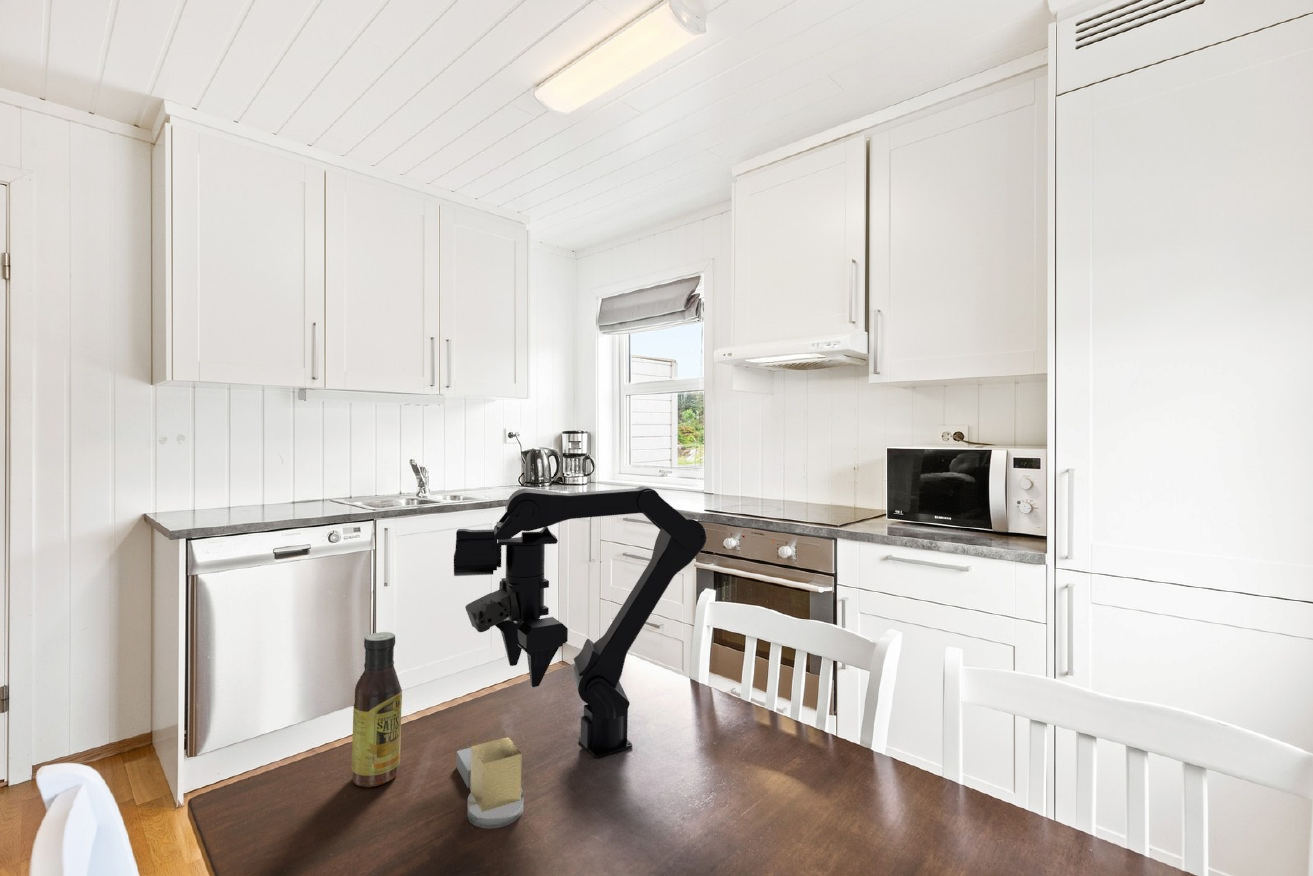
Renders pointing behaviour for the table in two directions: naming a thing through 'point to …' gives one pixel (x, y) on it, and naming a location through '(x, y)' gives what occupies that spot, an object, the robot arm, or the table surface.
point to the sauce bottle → (377, 715)
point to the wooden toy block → (495, 773)
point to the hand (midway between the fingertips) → (523, 675)
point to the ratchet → (475, 815)
